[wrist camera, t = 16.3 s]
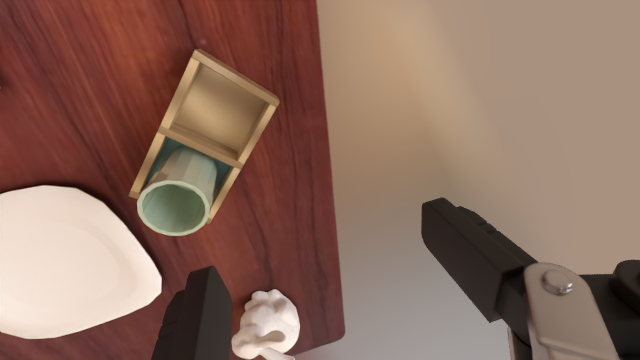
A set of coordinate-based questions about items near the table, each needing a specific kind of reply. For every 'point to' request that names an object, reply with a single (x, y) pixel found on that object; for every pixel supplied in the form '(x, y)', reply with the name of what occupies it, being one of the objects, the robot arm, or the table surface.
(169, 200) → the cup
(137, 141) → the table surface
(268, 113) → the holder
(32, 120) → the table surface
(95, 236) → the plate
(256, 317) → the rabbit
